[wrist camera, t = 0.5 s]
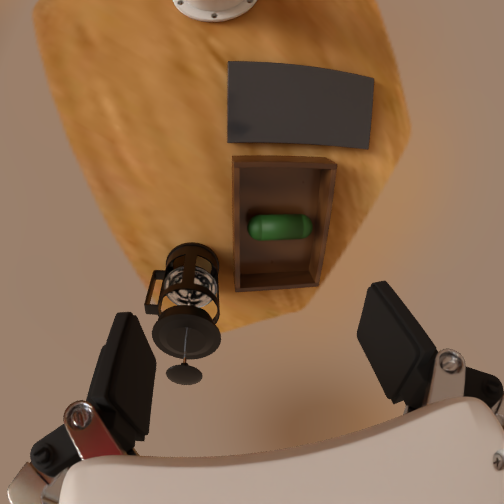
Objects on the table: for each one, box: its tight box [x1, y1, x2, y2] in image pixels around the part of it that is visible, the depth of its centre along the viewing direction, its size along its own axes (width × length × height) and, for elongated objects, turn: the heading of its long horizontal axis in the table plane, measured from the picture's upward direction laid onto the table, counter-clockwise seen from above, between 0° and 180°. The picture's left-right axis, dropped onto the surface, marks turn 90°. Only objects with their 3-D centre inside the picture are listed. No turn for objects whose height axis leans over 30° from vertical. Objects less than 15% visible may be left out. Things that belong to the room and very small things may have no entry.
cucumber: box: [247, 214, 313, 241], centre depth 43 cm, size 4×10×4 cm, turn 89°
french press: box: [144, 243, 221, 385], centre depth 38 cm, size 12×9×23 cm
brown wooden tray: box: [232, 156, 337, 292], centre depth 43 cm, size 22×15×4 cm
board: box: [227, 61, 374, 150], centre depth 35 cm, size 12×22×2 cm, turn 89°
